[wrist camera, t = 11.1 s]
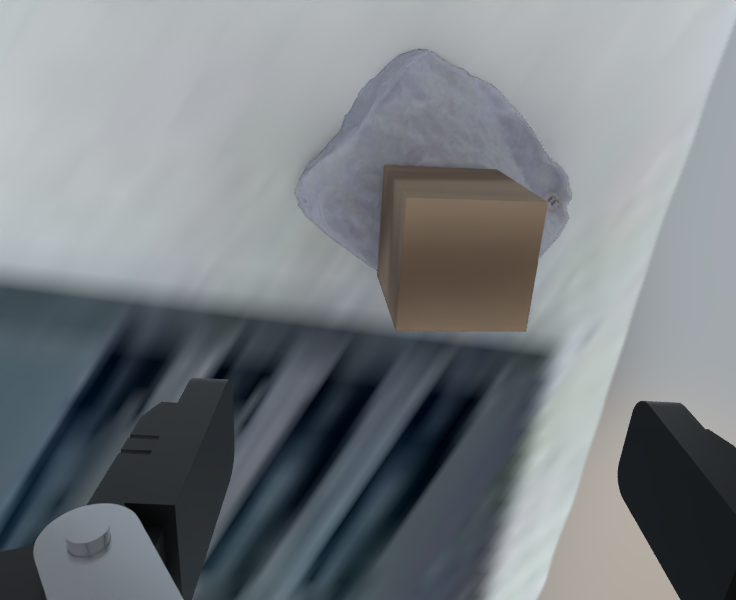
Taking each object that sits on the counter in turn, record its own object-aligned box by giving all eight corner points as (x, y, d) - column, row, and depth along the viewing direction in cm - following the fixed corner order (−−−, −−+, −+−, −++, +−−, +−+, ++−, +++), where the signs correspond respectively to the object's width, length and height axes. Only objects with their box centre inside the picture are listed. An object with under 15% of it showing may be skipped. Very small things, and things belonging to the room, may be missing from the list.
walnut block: (384, 165, 26) (406, 197, 20) (496, 169, 26) (548, 201, 21) (377, 274, 28) (396, 331, 22) (482, 276, 28) (525, 331, 23)
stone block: (398, 32, 30) (279, 198, 31) (421, 11, 25) (281, 206, 26) (567, 180, 33) (454, 325, 34) (615, 185, 28) (483, 353, 29)
